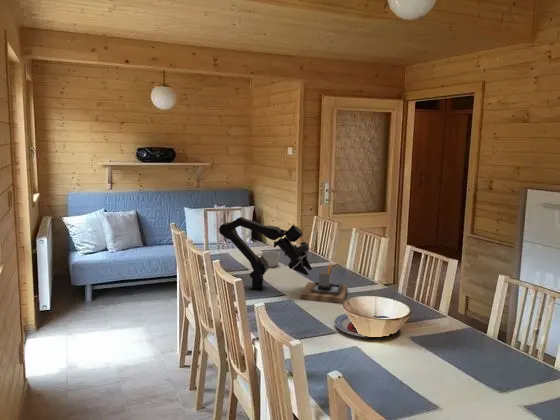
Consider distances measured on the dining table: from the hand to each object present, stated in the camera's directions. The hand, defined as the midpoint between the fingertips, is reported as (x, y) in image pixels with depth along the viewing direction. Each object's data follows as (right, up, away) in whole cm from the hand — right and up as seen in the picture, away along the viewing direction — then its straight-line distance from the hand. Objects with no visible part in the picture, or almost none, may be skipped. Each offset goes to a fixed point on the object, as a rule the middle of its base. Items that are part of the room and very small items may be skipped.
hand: (309, 272), depth 232 cm
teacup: (-22, -3, +50) cm, 55 cm away
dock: (+7, -11, 0) cm, 13 cm away
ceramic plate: (+20, -18, -40) cm, 48 cm away
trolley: (+7, -8, -1) cm, 11 cm away
